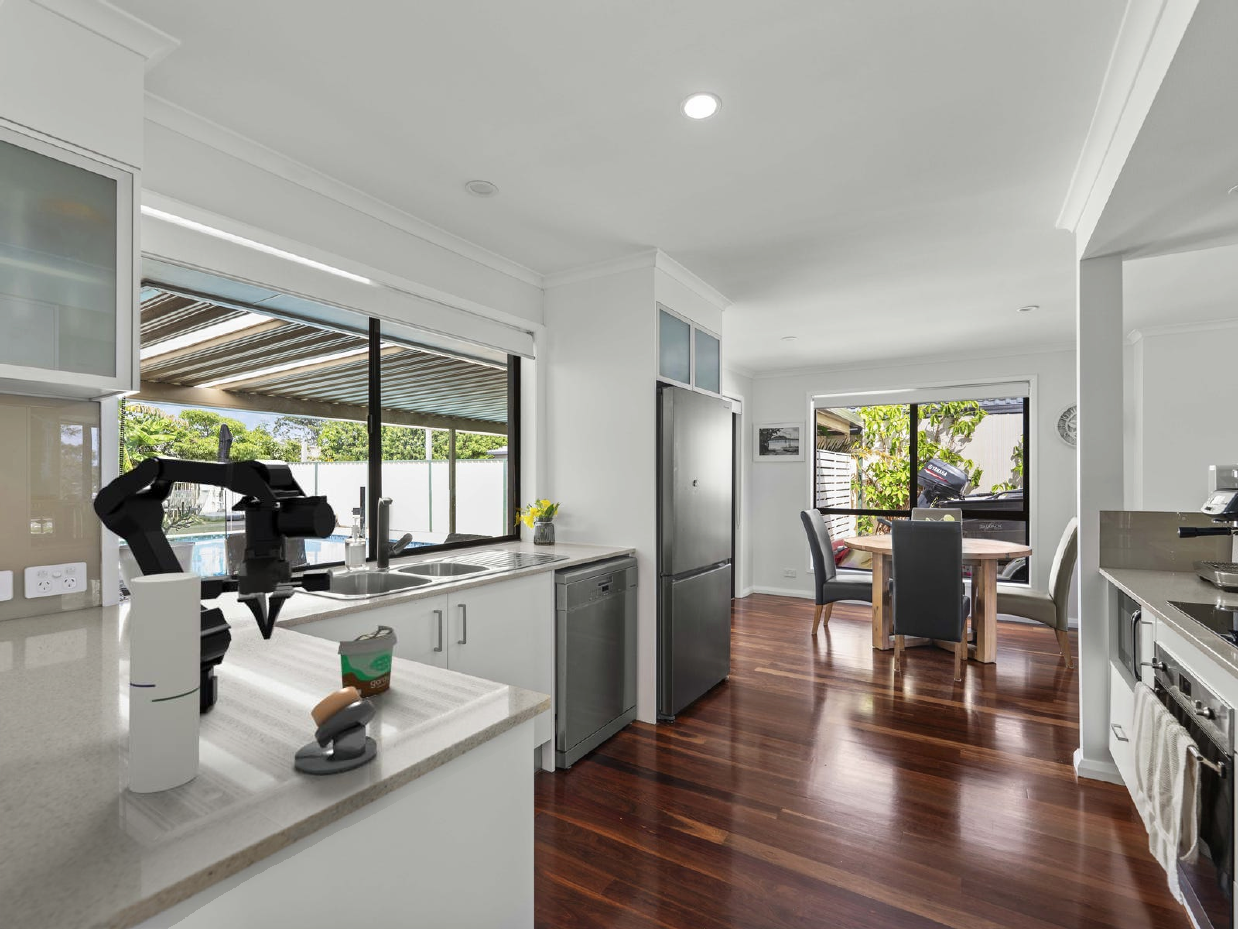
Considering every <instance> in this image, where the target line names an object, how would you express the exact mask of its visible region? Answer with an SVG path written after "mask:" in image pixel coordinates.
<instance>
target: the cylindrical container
mask: <svg viewBox="0 0 1238 929" xmlns="http://www.w3.org/2000/svg"><path fill="white" fill-rule="evenodd" d="M201 579H202V576H201V573H197V572H184V573H167V574H156V575H148V576H144V575H143V576H142V575H141V576H137V577H133V578H131V579H130V601H129V602H130V606H129V607H130V613H129V614H130V616H129V617H130V619H129V620H130V623H129V625H130V626H129V627H130V628H129V632H130V633H129V634H130V636H129V684H128V685H129V691H128V693H129V695H128V696H129V697H128V698H129V699H128V700H129V703H128V706H129V709H128V712H129V713H128V722H129V723H128V776H127V777H128V779H127V780H128V781H127V782H128V783H127V784H128V785H127V786H128V787H127V788H128V790H129V791H130V790H131V792H132V793H135V794H151V793H157V792H164V791H168V790H170V789H175V788H177V787H180V786H182V785H184V784H186V783H188V782H191V781H192V780H193V779H195V778H196V777H197V776H198V775H199V772H200V715H201V714H200V614H201V604H202V603H201V602H202V600H201Z"/></svg>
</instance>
